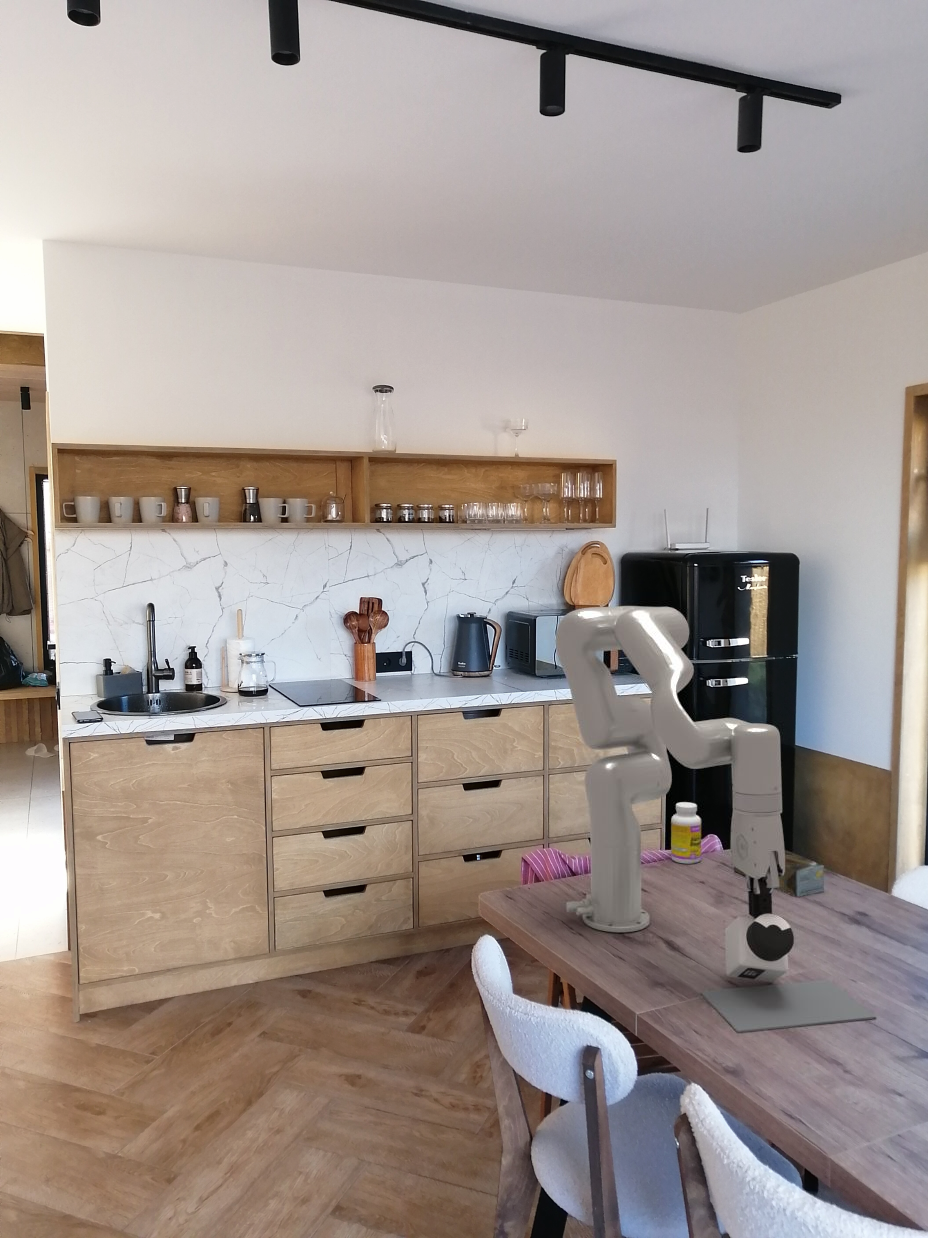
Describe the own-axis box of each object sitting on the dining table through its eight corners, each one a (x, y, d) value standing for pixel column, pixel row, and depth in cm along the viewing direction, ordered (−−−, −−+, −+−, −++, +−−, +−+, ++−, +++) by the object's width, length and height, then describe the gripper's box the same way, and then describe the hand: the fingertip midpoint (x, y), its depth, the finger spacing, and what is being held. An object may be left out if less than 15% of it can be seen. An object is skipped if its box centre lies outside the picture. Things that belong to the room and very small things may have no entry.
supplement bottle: (691, 866, 215) (691, 810, 214) (665, 860, 219) (665, 805, 218) (706, 859, 220) (706, 804, 219) (680, 854, 224) (680, 799, 223)
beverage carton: (796, 899, 194) (796, 867, 194) (731, 872, 211) (731, 843, 211) (825, 893, 197) (825, 861, 197) (759, 867, 215) (759, 838, 214)
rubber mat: (737, 1033, 139) (737, 1031, 139) (700, 993, 152) (700, 991, 152) (876, 1019, 143) (876, 1017, 143) (828, 981, 155) (828, 979, 155)
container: (773, 983, 155) (801, 963, 144) (725, 976, 155) (750, 955, 145) (770, 935, 159) (797, 912, 149) (724, 928, 160) (748, 905, 149)
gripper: (715, 794, 160) (718, 904, 160) (757, 813, 145) (760, 934, 145) (756, 791, 161) (760, 900, 161) (803, 810, 146) (806, 929, 147)
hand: (760, 916), depth 153 cm, fingers closed
